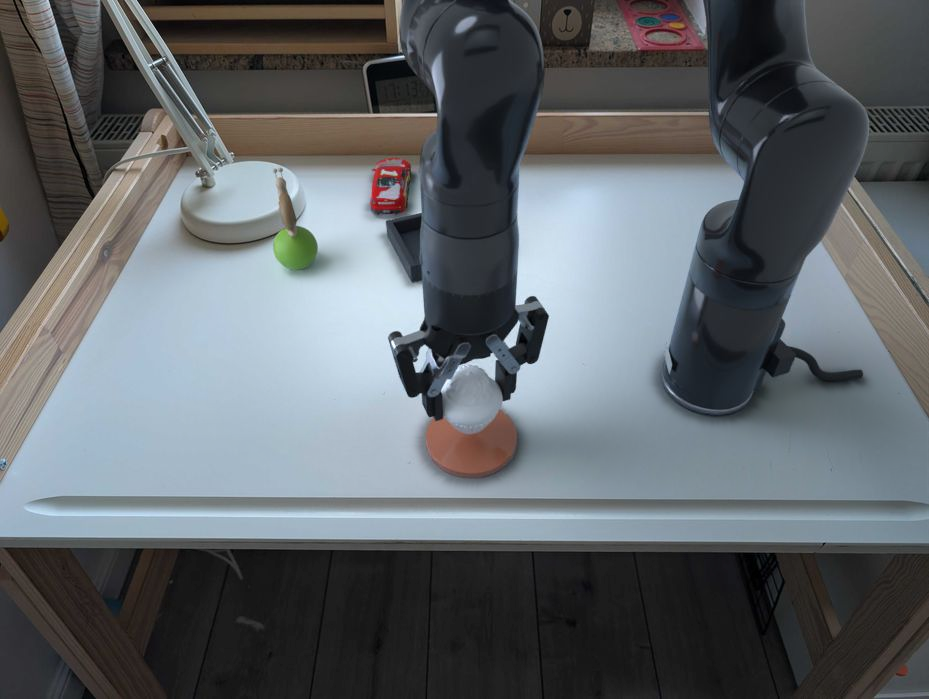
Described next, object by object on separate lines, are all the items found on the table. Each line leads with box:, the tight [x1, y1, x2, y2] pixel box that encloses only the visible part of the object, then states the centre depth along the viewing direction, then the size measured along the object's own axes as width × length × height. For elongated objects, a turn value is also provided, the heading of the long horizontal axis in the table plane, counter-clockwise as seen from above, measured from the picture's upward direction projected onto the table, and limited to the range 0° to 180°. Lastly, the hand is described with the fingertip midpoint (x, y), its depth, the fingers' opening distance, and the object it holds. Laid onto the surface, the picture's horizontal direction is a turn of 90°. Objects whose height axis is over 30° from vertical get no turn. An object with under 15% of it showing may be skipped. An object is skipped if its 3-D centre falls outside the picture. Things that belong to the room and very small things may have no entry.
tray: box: [385, 212, 422, 283], centre depth 93 cm, size 12×11×2 cm
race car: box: [369, 157, 412, 216], centre depth 102 cm, size 13×5×4 cm, turn 178°
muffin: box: [441, 364, 504, 434], centre depth 67 cm, size 6×6×7 cm
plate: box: [425, 409, 518, 479], centre depth 71 cm, size 9×9×1 cm
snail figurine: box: [272, 167, 319, 271], centre depth 88 cm, size 5×6×12 cm
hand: (469, 403), depth 67 cm, fingers closed on muffin, 6 cm apart
